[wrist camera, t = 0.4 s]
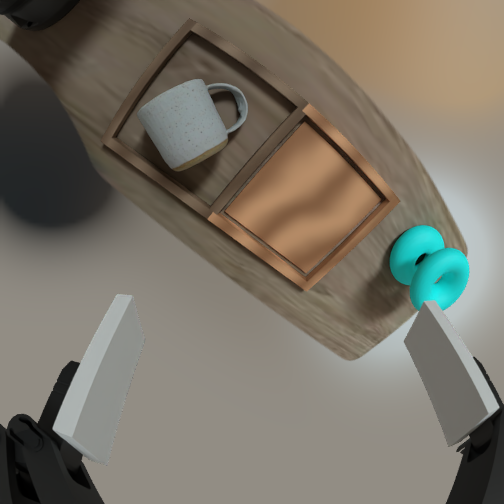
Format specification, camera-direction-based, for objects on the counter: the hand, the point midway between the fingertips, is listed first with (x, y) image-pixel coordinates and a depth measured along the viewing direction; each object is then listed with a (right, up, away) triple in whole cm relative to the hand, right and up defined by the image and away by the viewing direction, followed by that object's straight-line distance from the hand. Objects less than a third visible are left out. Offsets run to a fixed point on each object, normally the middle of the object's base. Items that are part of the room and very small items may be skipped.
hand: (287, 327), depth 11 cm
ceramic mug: (-7, +19, +18) cm, 27 cm away
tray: (-1, +14, +20) cm, 25 cm away
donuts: (+24, +3, +26) cm, 35 cm away
